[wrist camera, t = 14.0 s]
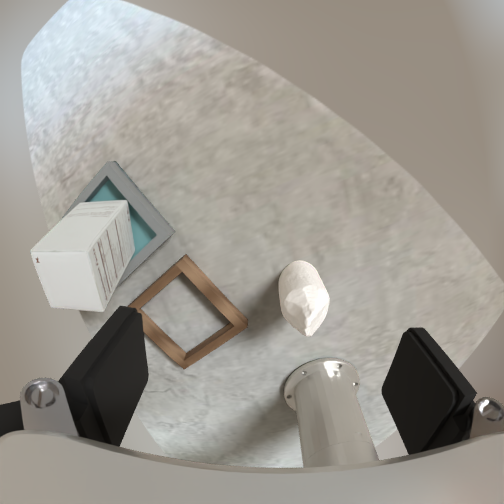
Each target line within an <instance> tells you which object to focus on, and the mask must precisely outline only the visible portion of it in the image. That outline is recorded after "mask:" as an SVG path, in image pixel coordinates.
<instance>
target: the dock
mask: <svg viewBox="0 0 504 504" xmlns="http://www.w3.org/2000/svg"><path fill="white" fill-rule="evenodd" d="M113 200H127V201H128V207H129V214H130V221H131V227H132V233H133V239H134V246H135V252H134V254H133V256H132V258H131V260H130V261H129V263H128V265H127V267H126V269H125V271H124V273H123V275H122V277H121V279H120V280H119V282H118V285H117V287H118V286H119V285H120V284H121V283H122V282H123V281H124V280H125V279H126V278H127V277H128V276H129V275H130V274H131V273H132V272H133V271H134V270H135V269H136V268H137V267H138V266H139V265H140V264H141V263H142V262H143V261H144V260H145V259H146V258H147V257H148V256H150V255H151V254H152V253H153V252H154V251H155V250H156V249H157V248H158V247H159V246H160V245H161V244H162V243H163V242H164V241H166V240H167V239H168V238H169V237H170V236H171V235H172V234H173V233H174V232H175V230H174V229H173V228H172V227H171V226H170V224H169V223H168V222H167V221H166V220H165V219H164V218H163V216H162V215H161V214H160V213H159V212H158V211H157V209H156V208H155V207H154V206H153V205H152V204H151V202H150V201H149V200H148V199H147V198H146V197H145V195H144V194H143V193H142V192H141V191H140V190H139V188H138V187H137V186H136V185H135V184H134V182H133V181H132V180H131V179H130V178H129V177H128V175H127V174H126V173H125V172H124V171H123V169H122V168H121V167H120V166H119V164H118V163H117V162H116V161H112V162H107V163H106V164H105V165H104V166H103V167H102V168H101V170H100V171H99V172H98V173H97V174H96V175H95V177H94V178H93V179H92V180H91V181H90V183H89V184H88V185H87V186H86V187H85V189H84V190H83V191H82V192H81V194H80V195H79V196H78V198H77V199H76V200H75V201H74V203H73V204H72V205H71V207H70V208H69V209H68V211H67V212H66V213H65V215H64V216H63V217H62V219H63V218H64V217H65V216H66V215H67V214H68V213H69V212H70V211H71V210H73V209H74V208H75V207H76V206H77V205H78V204H79V203H83V202H97V201H113ZM62 219H61V220H62ZM61 220H60V221H61ZM117 287H116V288H117Z"/></svg>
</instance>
